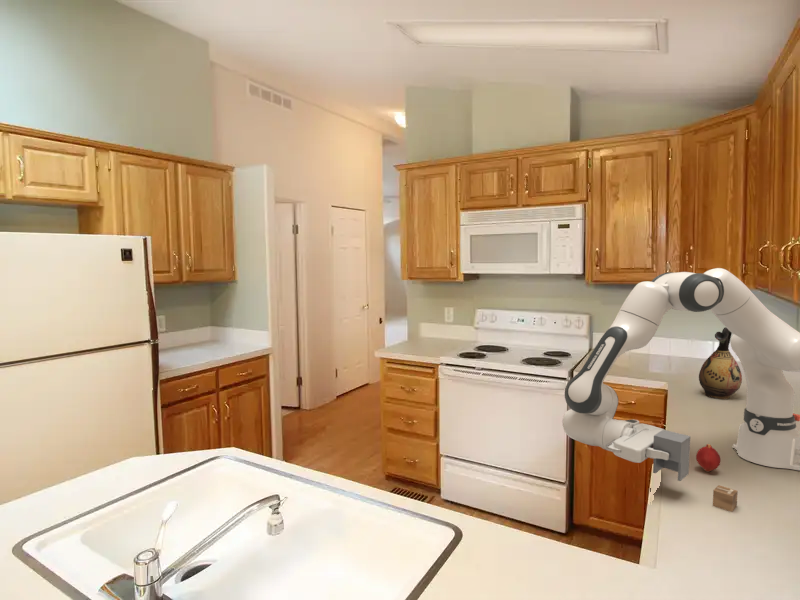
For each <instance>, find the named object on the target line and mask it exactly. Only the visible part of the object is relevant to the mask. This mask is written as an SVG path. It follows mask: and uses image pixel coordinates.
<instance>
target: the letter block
mask: <svg viewBox="0 0 800 600" xmlns="http://www.w3.org/2000/svg"><path fill="white" fill-rule="evenodd" d="M738 493H739V492H738V490H737V489H733V488H730V487H726V486H722V485H719V484H718V485H717V486H716V487H715V488H714V489H713V493H712V494H713V495H712V507H715V508H719V509H721V510H725V511H726V512H727V511H728V512H731V513H733V511H735V509H736V508H737V507H738Z"/></svg>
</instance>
